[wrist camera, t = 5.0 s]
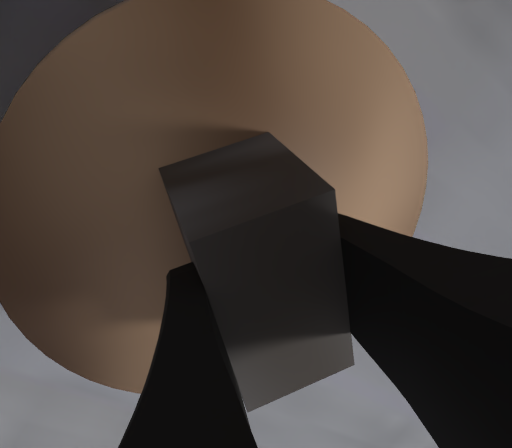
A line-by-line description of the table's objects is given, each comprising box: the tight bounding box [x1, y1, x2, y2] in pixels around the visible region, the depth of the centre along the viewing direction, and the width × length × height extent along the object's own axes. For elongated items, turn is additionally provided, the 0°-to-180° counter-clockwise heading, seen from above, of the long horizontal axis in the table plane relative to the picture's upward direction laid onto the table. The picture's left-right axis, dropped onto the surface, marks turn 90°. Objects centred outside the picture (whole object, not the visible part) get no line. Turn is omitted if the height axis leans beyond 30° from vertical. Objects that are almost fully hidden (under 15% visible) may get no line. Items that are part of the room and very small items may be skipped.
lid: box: [0, 0, 428, 412], centre depth 11 cm, size 12×12×4 cm
